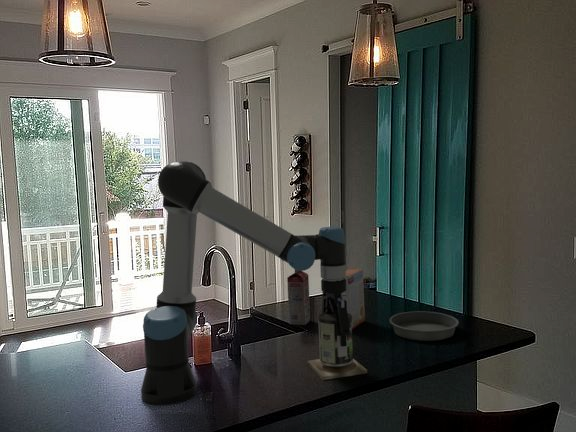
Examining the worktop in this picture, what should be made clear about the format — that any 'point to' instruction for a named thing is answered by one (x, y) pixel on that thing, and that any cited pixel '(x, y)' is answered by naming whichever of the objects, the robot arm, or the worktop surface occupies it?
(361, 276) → the cracker box
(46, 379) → the worktop surface
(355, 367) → the rest board
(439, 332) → the cake pan
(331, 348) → the coffee can
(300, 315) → the juice carton
